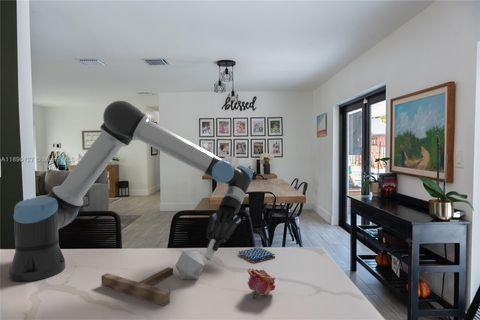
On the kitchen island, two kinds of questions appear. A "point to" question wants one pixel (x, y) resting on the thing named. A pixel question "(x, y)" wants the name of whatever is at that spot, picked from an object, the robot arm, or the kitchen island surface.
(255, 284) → the flower
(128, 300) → the kitchen island surface
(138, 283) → the walnut T rail
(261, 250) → the woven mat
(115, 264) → the kitchen island surface
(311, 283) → the kitchen island surface
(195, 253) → the die
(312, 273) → the kitchen island surface
